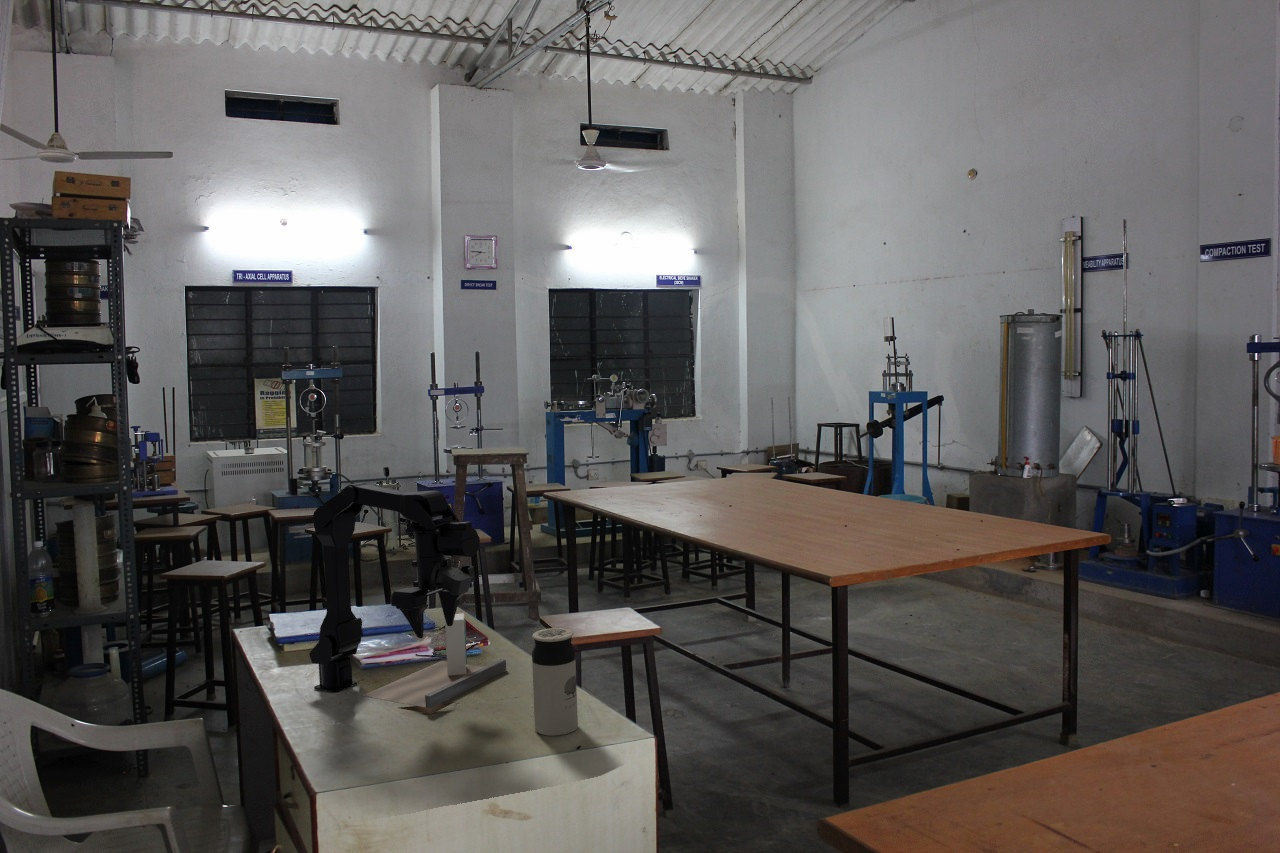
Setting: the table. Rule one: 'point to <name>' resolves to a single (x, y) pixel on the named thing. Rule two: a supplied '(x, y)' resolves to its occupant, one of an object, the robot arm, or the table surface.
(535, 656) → the travel mug
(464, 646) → the product box
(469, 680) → the shelf board
